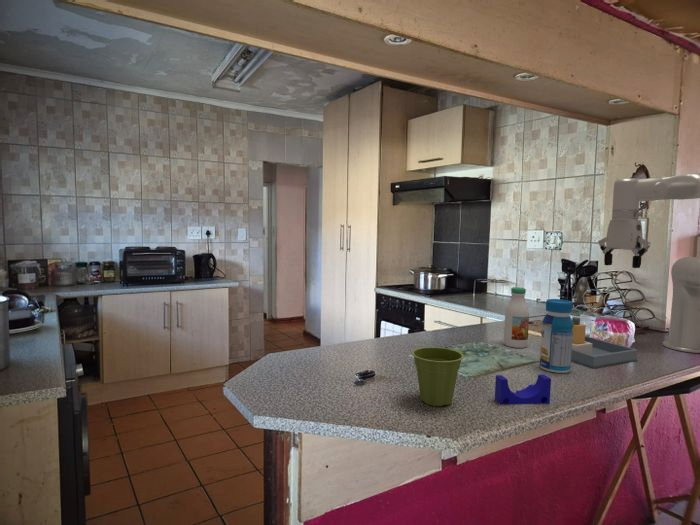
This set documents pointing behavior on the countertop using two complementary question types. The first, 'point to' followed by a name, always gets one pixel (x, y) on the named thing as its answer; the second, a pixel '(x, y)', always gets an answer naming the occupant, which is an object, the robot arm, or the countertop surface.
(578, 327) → the orange square bottle
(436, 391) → the plant pot
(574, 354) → the walled box
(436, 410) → the countertop surface
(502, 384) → the blue u-shaped cradle
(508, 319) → the milk bottle
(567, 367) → the beverage bottle
